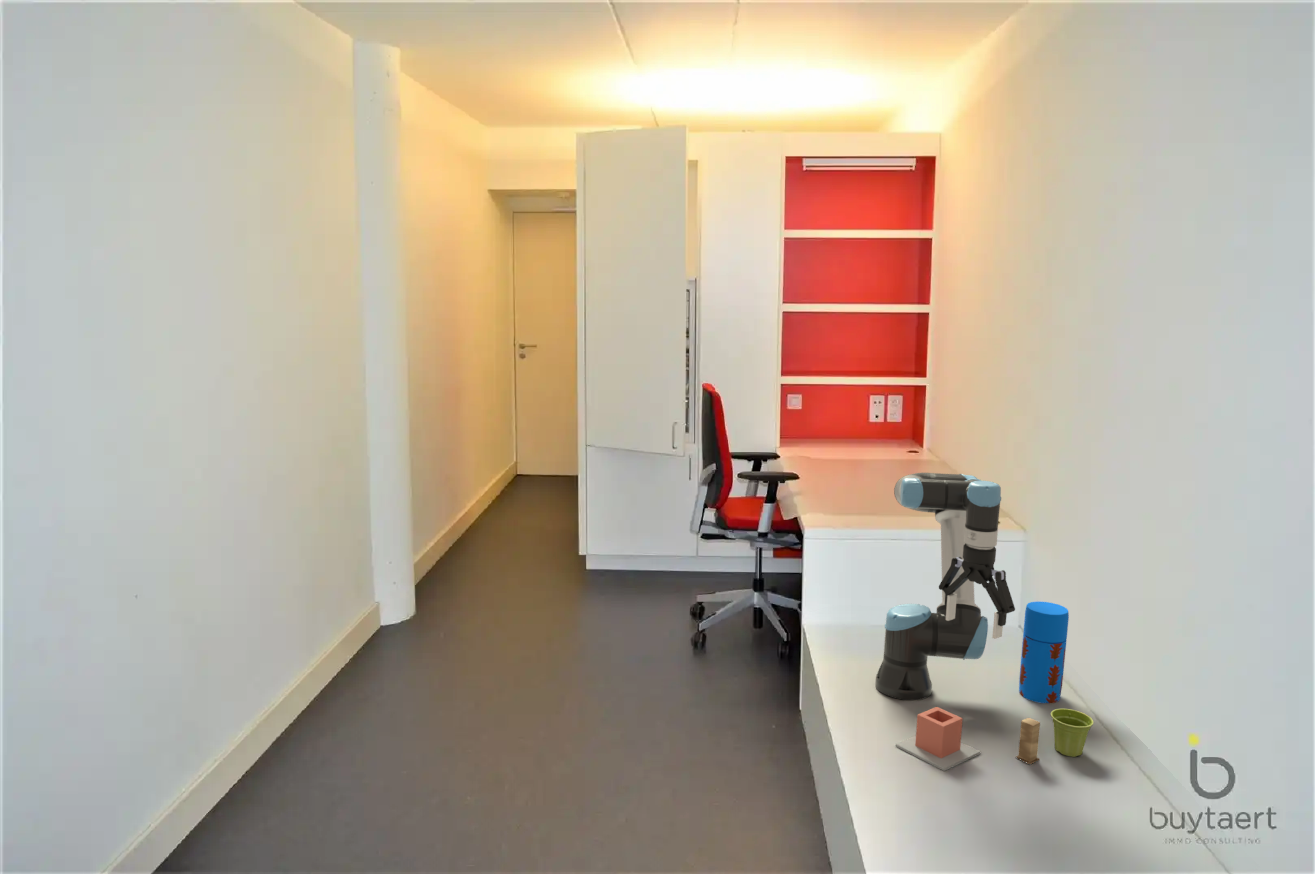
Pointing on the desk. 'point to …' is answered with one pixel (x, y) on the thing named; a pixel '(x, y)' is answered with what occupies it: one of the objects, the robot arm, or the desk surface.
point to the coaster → (941, 763)
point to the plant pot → (1070, 731)
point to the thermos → (1043, 652)
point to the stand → (1029, 740)
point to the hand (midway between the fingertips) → (973, 628)
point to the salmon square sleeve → (938, 732)
